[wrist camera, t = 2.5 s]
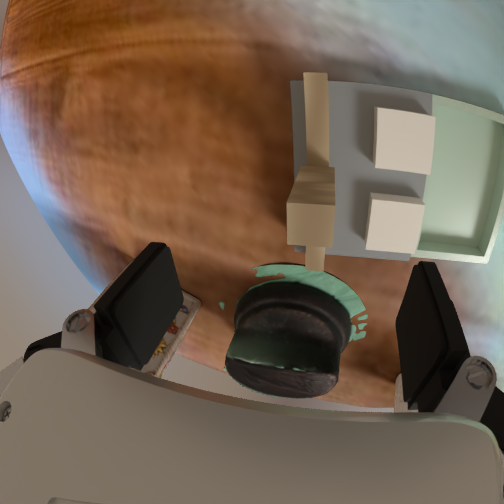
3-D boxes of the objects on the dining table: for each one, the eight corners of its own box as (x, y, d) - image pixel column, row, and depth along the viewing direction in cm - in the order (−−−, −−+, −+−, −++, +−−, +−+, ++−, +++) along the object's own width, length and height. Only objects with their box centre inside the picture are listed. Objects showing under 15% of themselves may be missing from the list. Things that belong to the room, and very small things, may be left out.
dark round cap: (236, 359, 44) (218, 406, 36) (205, 261, 34) (170, 314, 26) (358, 369, 38) (354, 422, 30) (376, 264, 28) (384, 329, 20)
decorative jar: (133, 256, 37) (50, 349, 22) (204, 299, 37) (140, 413, 23) (125, 303, 44) (65, 382, 29) (183, 338, 44) (134, 428, 30)
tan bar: (332, 74, 16) (335, 62, 9) (328, 258, 25) (321, 333, 18) (300, 74, 17) (279, 62, 10) (303, 256, 26) (286, 329, 18)
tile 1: (429, 114, 16) (435, 116, 14) (424, 169, 18) (430, 175, 17) (374, 106, 17) (377, 107, 16) (372, 162, 19) (375, 167, 18)
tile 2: (420, 198, 19) (425, 205, 18) (410, 244, 22) (414, 254, 21) (370, 192, 21) (372, 199, 19) (364, 240, 23) (365, 249, 22)
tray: (507, 117, 14) (518, 121, 13) (479, 252, 23) (487, 263, 21) (420, 92, 17) (429, 93, 15) (403, 244, 25) (407, 256, 23)
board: (420, 92, 17) (432, 93, 15) (403, 244, 25) (409, 261, 23) (294, 81, 20) (289, 80, 18) (298, 235, 28) (294, 251, 26)
